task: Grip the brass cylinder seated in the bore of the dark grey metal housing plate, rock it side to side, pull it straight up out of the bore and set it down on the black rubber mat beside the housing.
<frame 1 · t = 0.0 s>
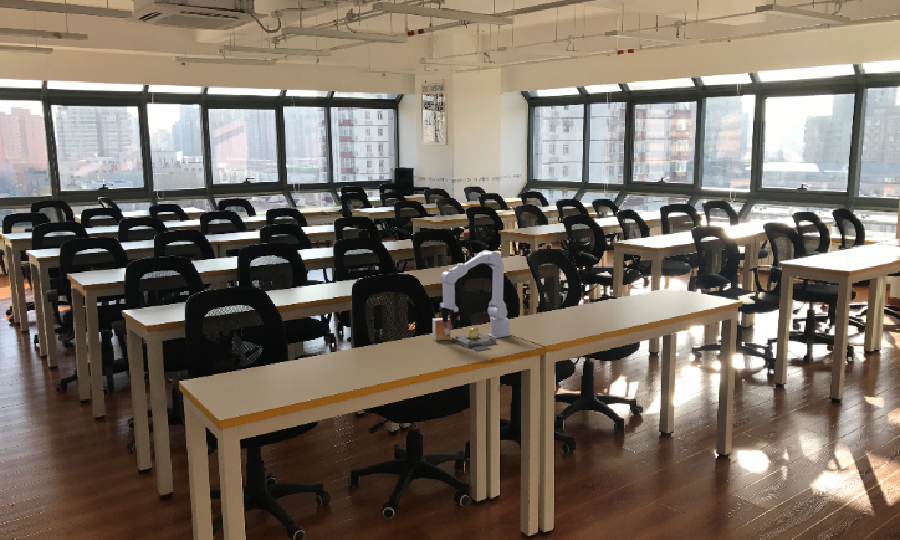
hand: (449, 323, 348), 10 cm above the table, tool pointing down, fingers open, 7 cm apart
brass cylinder: (473, 335, 350), in the housing
mat: (480, 348, 339), on the table
housing: (473, 342, 351), on the table
small box: (441, 339, 358), on the table
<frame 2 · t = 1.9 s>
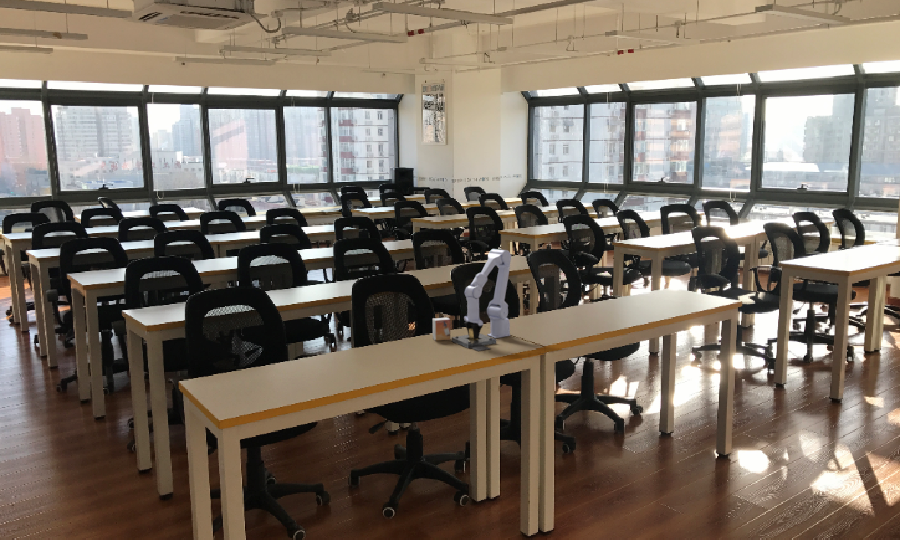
hand: (473, 337, 350), 3 cm above the table, tool pointing down, fingers closed on brass cylinder, 5 cm apart
brass cylinder: (473, 335, 350), in the housing, touching gripper
everything else where it was.
when the fingers open (4 cm above the table, at t = 6.6 s): brass cylinder drops 1 cm, resting on mat.
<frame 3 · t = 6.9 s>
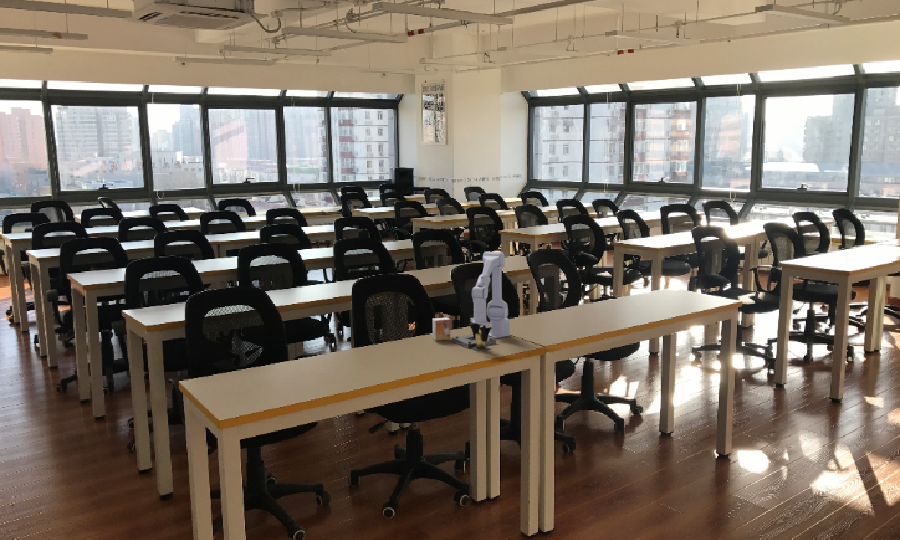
hand: (480, 339, 338), 4 cm above the table, tool pointing down, fingers open, 7 cm apart
brass cylinder: (480, 340, 338), on the mat
everything else where it was.
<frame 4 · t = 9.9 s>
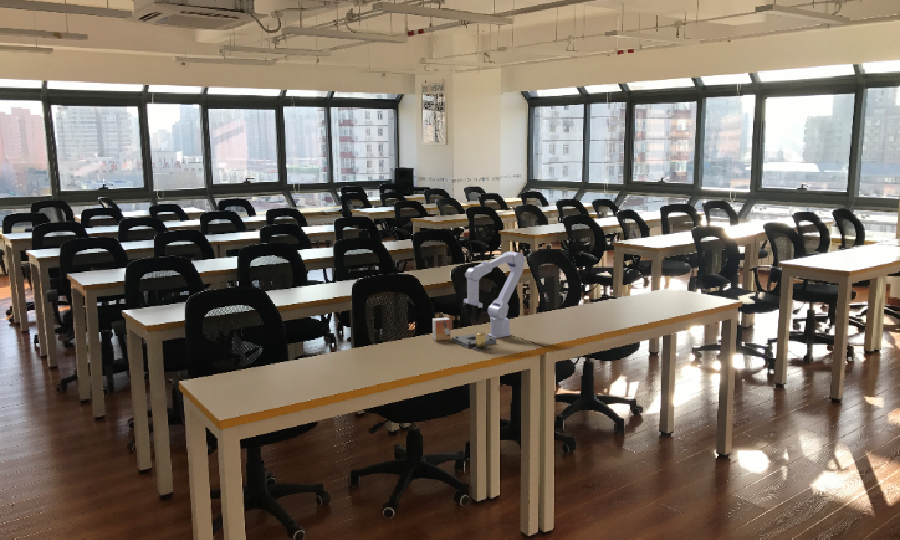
hand: (472, 319, 354), 10 cm above the table, tool pointing down, fingers open, 7 cm apart
nothing on the table moved.
at the end: brass cylinder inside the target area on the mat (0.1 cm from its centre), point 3.9 cm above the mat's base; brass cylinder tilted 1°; the gripper is holding nothing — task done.
